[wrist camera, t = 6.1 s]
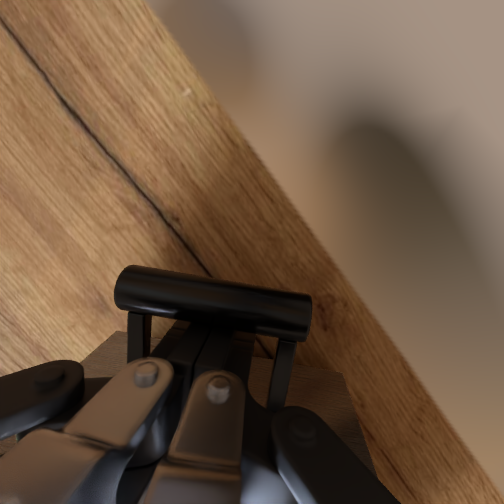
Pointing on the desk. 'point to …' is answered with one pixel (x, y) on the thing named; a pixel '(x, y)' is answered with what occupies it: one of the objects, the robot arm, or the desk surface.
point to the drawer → (235, 318)
